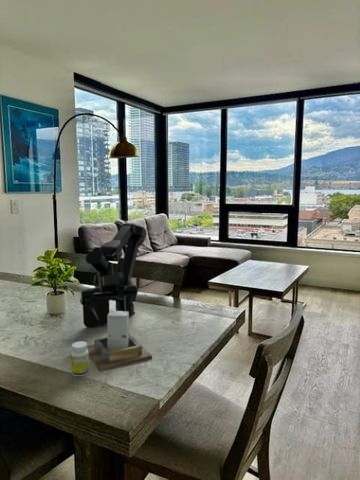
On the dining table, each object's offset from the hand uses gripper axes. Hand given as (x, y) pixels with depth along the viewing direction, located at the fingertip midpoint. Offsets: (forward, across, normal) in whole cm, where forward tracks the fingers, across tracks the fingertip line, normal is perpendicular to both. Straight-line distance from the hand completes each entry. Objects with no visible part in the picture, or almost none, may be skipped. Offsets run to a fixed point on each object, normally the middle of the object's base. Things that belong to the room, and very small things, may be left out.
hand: (113, 317), depth 117 cm
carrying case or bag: (-6, -4, +19) cm, 20 cm away
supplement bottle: (+17, -12, -4) cm, 22 cm away
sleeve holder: (+12, 0, +1) cm, 12 cm away
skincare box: (+11, 0, 0) cm, 11 cm away
